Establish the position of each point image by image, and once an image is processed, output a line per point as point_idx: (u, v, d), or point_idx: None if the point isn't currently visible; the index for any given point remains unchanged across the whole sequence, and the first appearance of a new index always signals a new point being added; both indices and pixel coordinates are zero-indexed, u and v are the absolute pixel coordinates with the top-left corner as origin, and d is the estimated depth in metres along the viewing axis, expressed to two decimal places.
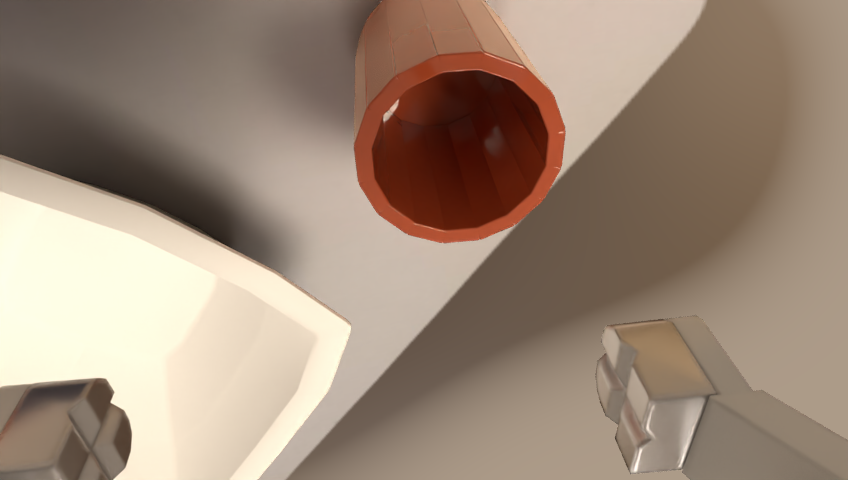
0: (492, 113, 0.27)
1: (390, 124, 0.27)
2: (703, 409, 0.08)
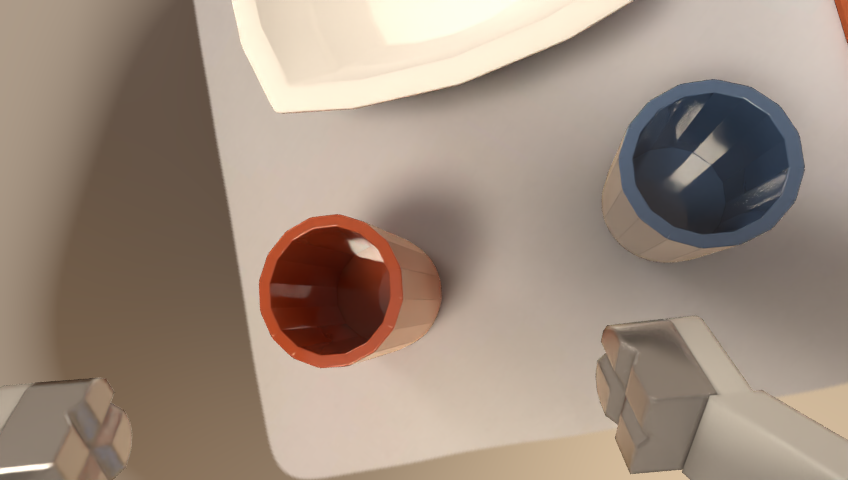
0: (327, 305, 0.35)
1: None
2: (703, 409, 0.08)
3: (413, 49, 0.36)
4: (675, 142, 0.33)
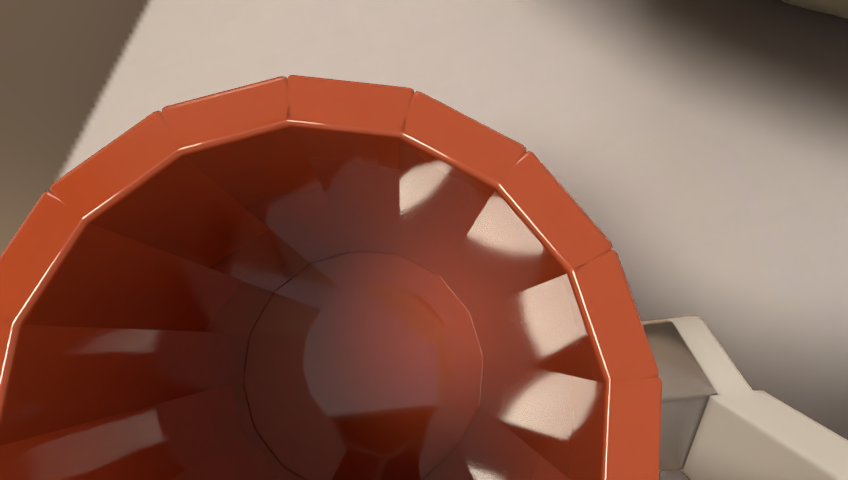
0: (229, 330, 0.13)
1: (428, 260, 0.14)
2: (703, 409, 0.08)
3: None
4: None
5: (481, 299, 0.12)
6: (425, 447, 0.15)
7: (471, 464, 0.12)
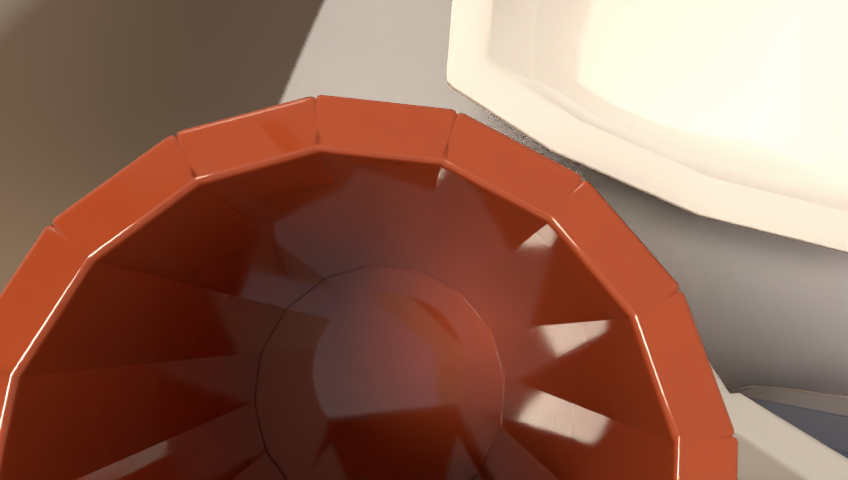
0: (241, 351, 0.12)
1: (450, 277, 0.13)
2: None
3: (614, 112, 0.27)
4: None
5: (507, 321, 0.12)
6: (444, 471, 0.14)
7: None
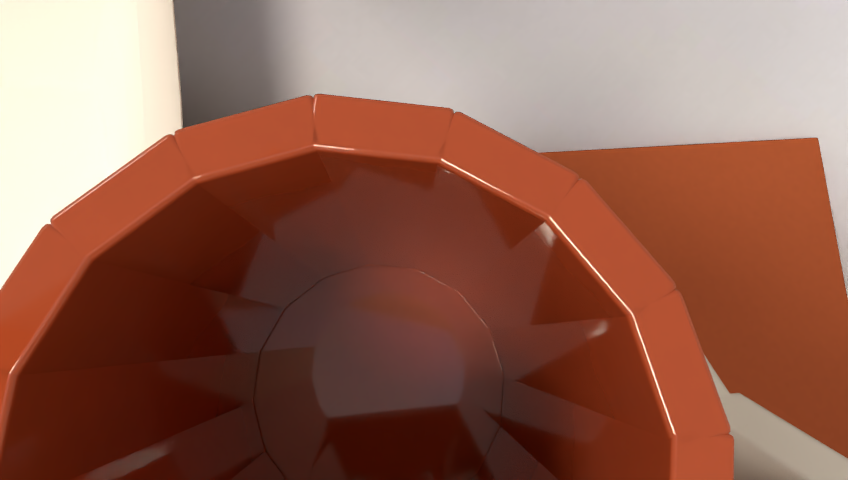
0: (240, 351, 0.12)
1: (448, 276, 0.13)
2: None
3: None
4: None
5: (506, 320, 0.12)
6: (443, 471, 0.14)
7: None
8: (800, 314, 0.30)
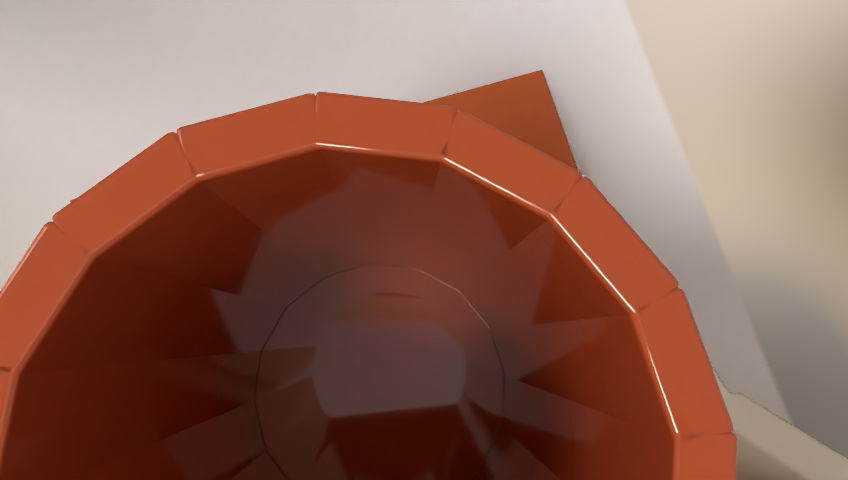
0: (241, 350, 0.12)
1: (449, 276, 0.13)
2: None
3: None
4: None
5: (507, 319, 0.12)
6: (444, 470, 0.14)
7: None
8: None
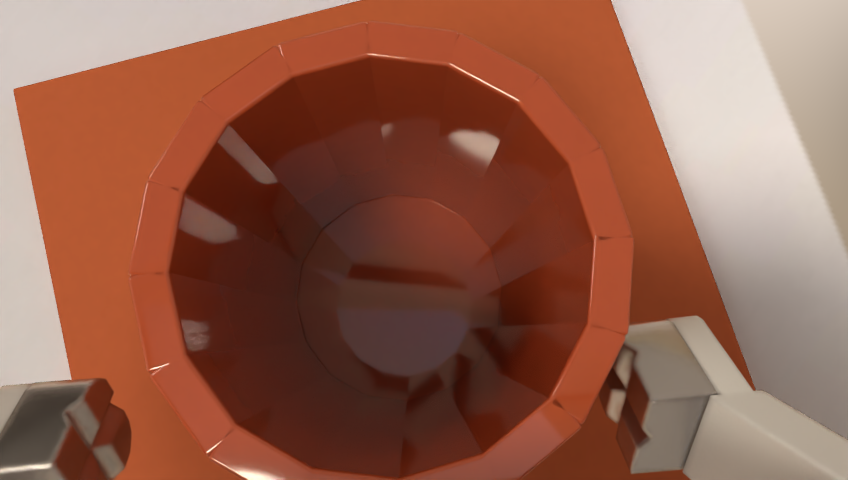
0: (290, 253, 0.16)
1: (456, 199, 0.16)
2: (704, 409, 0.08)
3: None
4: None
5: (501, 226, 0.15)
6: (450, 361, 0.17)
7: (490, 363, 0.15)
8: None
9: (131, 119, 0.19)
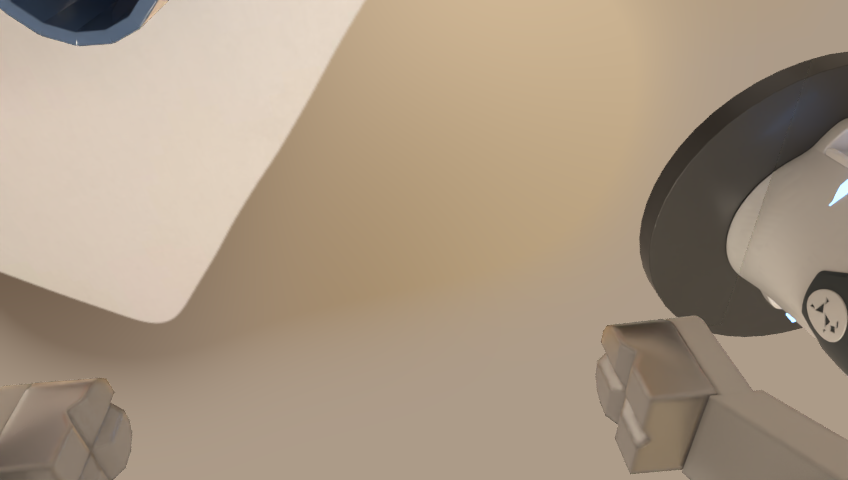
0: None
1: None
2: (703, 409, 0.08)
3: None
4: None
5: None
6: None
7: None
8: None
9: None
